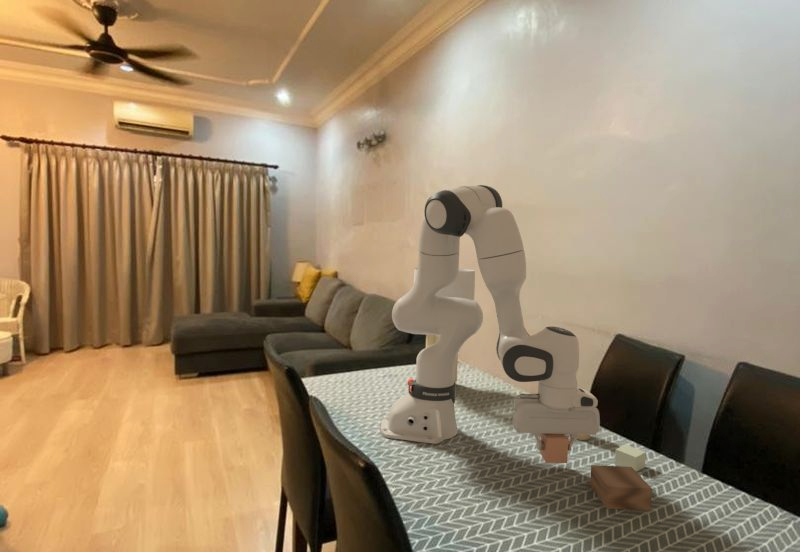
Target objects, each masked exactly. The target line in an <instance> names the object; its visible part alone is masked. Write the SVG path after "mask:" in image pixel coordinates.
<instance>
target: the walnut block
mask: <svg viewBox="0 0 800 552" xmlns="http://www.w3.org/2000/svg"><path fill="white" fill-rule="evenodd" d="M589 477H590V478H589V479H590V480H589V486H590V488H592V490H593V491H594V493H595V495H596V496H597V497H598V499H599V500H600V502H601V503H602V504H603V506H604V508H605V509H609V510H610V509H611V510H629V511H631V510H632V511H647V512H648V511H651V510H652V495H653V494H652V493H653V488H652V487H651V485H649V484H648V482H647V481H646V480H644V478H643V477H642V476H640V474H639V473H638V471H637V472H636V471H635V470H634V469H633V468H632V467H624V466H618V465H598V464H591V465H590V476H589Z"/></svg>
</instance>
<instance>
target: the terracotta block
mask: <svg viewBox="0 0 800 552" xmlns="http://www.w3.org/2000/svg"><path fill="white" fill-rule="evenodd" d="M539 439H540V440H542V441H543V442H544V443H545V447H544V448H545V450H539V454H540V455H541V457H542V458H543V460H544V461H545V463H546V464H568V454H569V451H568V442H569V439H568V437H567V434H548V433H541V437H540V438H539Z"/></svg>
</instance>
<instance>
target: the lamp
mask: <svg viewBox="0 0 800 552" xmlns="http://www.w3.org/2000/svg"><path fill="white" fill-rule="evenodd" d="M413 270H414V271H413V284H414V283H415V280H416V277H417V272H418V267H415V268H414V269H413ZM475 286H476V270H475V269H471V268H460V267H459V272H458V277H457V279H456V281H455V282H454V283H452V284H451V285H450V286H448V287H445V288H443V289H441V290H439V291H438V292H437V293H436V294H435V296H437V306H438V297H460V298H465V299H469V300H473V301H475V291H476V290H475V289H476V288H475ZM439 338H440V337H439V336H438V335H437V329H436V335H425V348H426V347H429V346H431V345H433V344H435V343H436V342H438V340H439ZM458 362H459V354H458V355H457V358H456V364H455V375H454V382H455V383H457V381H458V364H459V363H458Z"/></svg>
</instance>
